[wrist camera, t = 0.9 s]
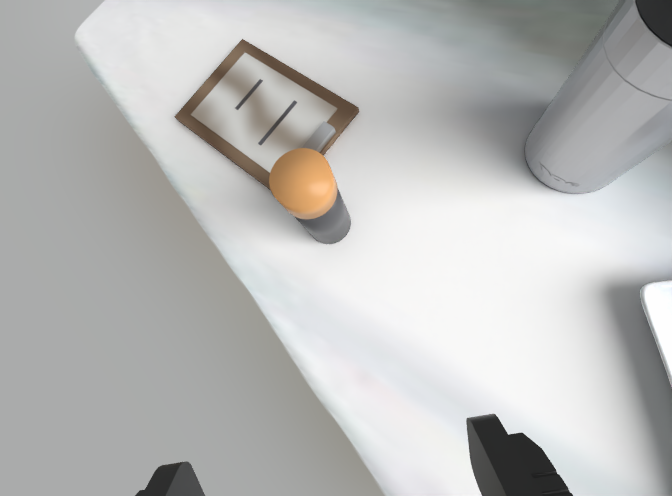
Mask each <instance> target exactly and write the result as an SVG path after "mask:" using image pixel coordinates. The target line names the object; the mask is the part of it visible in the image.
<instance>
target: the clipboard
mask: <svg viewBox="0 0 672 496" xmlns="http://www.w3.org/2000/svg"><path fill="white" fill-rule="evenodd" d="M358 112H359V109H358V107H356V106H355V105H353V104H351V103H350V102H348V101H346V100H345V99H343V98H341V97H339V96H338V95H336V94H334V93H333V92H331V91H329V90H328V89H326V88H324V87H323V86H321V85H319V84H317V83H316V82H314V81H312V80H311V79H309V78H307V77H306V76H304V75H302V74H301V73H299V72H297V71H296V70H294V69H292V68H290V67H289V66H287V65H285V64H284V63H282V62H280V61H279V60H277V59H275V58H274V57H272V56H270V55H268V54H267V53H265V52H263V51H262V50H260V49H258V48H257V47H255V46H253V45H252V44H250V43H248V42H246V41H245V40H243V39H242V40H241V41H240V42H239V44H238V45H237V46H236V47H235V48H234V49H233V50H232V52H231V53H230V54H229V55H228V56H227V57H226V58H225V60H224V61H223V62H222V63H221V64H220V65H219V66H218V68H217V69H216V70H215V71H214V72H213V73H212V74H211V76H210V77H209V78H208V79H207V80H206V81H205V82H204V84H203V85H202V86H201V87H200V88H199V89H198V91H197V92H196V93H195V94H194V95H193V96H192V97H191V99H190V100H189V101H188V102H187V103H186V104H185V105H184V107H183V108H182V109H181V110H180V111H179V112H178V113H177V115H176V116H175V118H176V119H177V120H178V121H179V122H181V123H182V124H183V125H185V126H186V127H187V128H189V129H190V130H191V131H193V132H194V133H195V134H197V135H198V136H199V137H201V138H202V139H203V140H205V141H206V142H207V143H209V144H210V145H211V146H213V147H214V148H215V149H217V150H218V151H219V152H221V153H222V154H223V155H225V156H226V157H227V158H229V159H230V160H231V161H233V162H234V163H235V164H237V165H238V166H239V167H241V168H242V169H243V170H245V171H246V172H247V173H249V174H250V175H251V176H253V177H254V178H255V179H257V180H258V181H259V182H261V183H262V184H263V185H265V186H266V187H267V188H269V189H270V185H269V176H270V172H271V169H272V167H273V165H274V164H275V162H276V161H277V160H278V159H279V158H280V157H281V156H282V155H284V154H285V153H287V152H289V151H291V150H294V149H298V148H309V149H313V150H315V151H317V152H319V153H320V154H322V155H324V154H325V153H326V151H327V150H328V149H329V148H330V146H331V145H332V144H333V143H334V142H335V140H336V139H337V138H338V137H339V136H340V134H341V133H342V132H343V131H344V129H345V128H346V127H347V126H348V125H349V123H350V122H351V121H352V120H353V118H354V117H355V116H356V115H357V114H358ZM270 190H271V189H270Z"/></svg>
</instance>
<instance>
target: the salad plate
mask: <svg viewBox="0 0 672 496" xmlns="http://www.w3.org/2000/svg"><path fill="white" fill-rule="evenodd" d="M640 300H641V303H642V306H643V310H644V312H645V315H646V318H647V320H648V323H649V326H650V328H651V331H652V334H653V336H654V339H655V342H656V344H657V347H658V350H659V352H660V355H661V358H662V361H663V364H664V366H665V369H666V372H667V375H668V378H669V381H670V384H671V387H672V280H666V281H658V282H652V283H648V284H645V285H644V286H643V287H642V288H641V290H640Z"/></svg>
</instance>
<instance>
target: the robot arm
mask: <svg viewBox="0 0 672 496" xmlns="http://www.w3.org/2000/svg"><path fill="white" fill-rule="evenodd" d="M671 141H672V0H620V1H619V2H618V4H617V5H616V7H615V8H614V10H613V12H612V13H611V15H610V16H609V18H608V19H607V21H606V22H605V24H604V25H603V26H602V28H601V29H600V31H599V32H598V34H597V35H596V37H595V38H594V40H593V41H592V43H591V44H590V46H589V47H588V49H587V50H586V52H585V53H584V55H583V56H582V58H581V59H580V60H579V62H578V63H577V65H576V66H575V68H574V69H573V71H572V72H571V74H570V75H569V77H568V78H567V80H566V81H565V83H564V84H563V86H562V87H561V89H560V90H559V92H558V93H557V94H556V96H555V97H554V99H553V100H552V102H551V103H550V105H549V106H548V108H547V109H546V110H545V112H544V113H543V115H542V116H541V118H540V119H539V121H538V122H537V124H536V125H535V127H534V128H533V130H532V131H531V133H530V134H529V137H528V139H527V141H526V146H525V157H526V161H527V164H528V166H529V168H530V169H531V171H532V173H533V174H534V175H535V176H536V177H537V178H538V179H539V180H540V181H541V182H543V183H544V184H546V185H547V186H549V187H551V188H553V189H556V190H558V191H562V192H566V193H577V194H580V193H589V192H592V191H596V190H599V189H601V188H603V187H605V186H606V185H608V184H610V183H611V182H613V181H614V180H616V179H617V178H618V177H620V176H621V175H623V174H624V173H626V172H627V171H629V170H630V169H632V168H633V167H635V166H636V165H638V164H639V163H641V162H642V161H644V160H645V159H646V158H648V157H649V156H651V155H652V154H654V153H655V152H657V151H658V150H660V149H661V148H662V147H664V146H665V145H667V144H668V143H670V142H671ZM466 422H467V432H468V442H469V452H470V460H471V465H472V469H473V472H474V476H475V479H476V482H477V484H478V487H479V489H480V492H481V494H482V496H573V495H572V493H570V492H569V490H568V487H567V486H566V484H565V483H564V481H563V480H562V478H561V477H560V475H559V474H557V472H556V469H555V468H554V466H553V465H552V463H551V462H550V460H549V459H548V457H547V456H546V454H545V453H544V451H543V450H542V448H540V447H539V446H538V445H537V444H535V443H534V442H533V441H532V440H531V439H529V438H528V437H527V436H526V435H525V434H523V433H516V434H510V435H508V434H507V432H506V430H505V429H504V427H503V425H502V424H501V422H500V420H499V419H498V417H497V416H496V415H495V414H489V415H483V416H477V417H470V418H467V421H466ZM135 496H205V495H204V492H203V490H202V488H201V486H200V484H199V481H198V479H197V477H196V475H195V473H194V470H193V468H192V466H191V464H190V463H189V462H180V463H174V464H168V465H162V466H160V467H158V469H157V470H156V471H155V472H154V474H153V476H152V478H151V480H150V481H149V483H148V485H147V487H146V489H145V490H140V491H139V492H138V493H137V494H136V495H135Z"/></svg>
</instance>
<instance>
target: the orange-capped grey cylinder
mask: <svg viewBox="0 0 672 496" xmlns="http://www.w3.org/2000/svg"><path fill="white" fill-rule="evenodd" d="M269 185H270V189H271V192H272V194H273V195H274V197H275V198H276V199H277V200H278V201H279V202H280V203H281V204H282V206H283V207H284V208H285V209H286V210H287V211H288V212H289V213H290V214H292V215H293V216H294V217H295V218H296V219H297V220H298V221H299V222H300V223H301V224H302V225H303V226H304V228H305V229H306V230H307V231H308V232H309V233H310V234H311V235H312V236H313V237H314V238H315V239H316V240H317V241H319V242H321V243H324V244H333V243H336V242H339V241H340V240H342V239H343V238H344V237H345V236H346V235H347V233H348V231H349V229H350V225H351V220H350V216H349V213H348V211H347V209H346V206H345V204H344V202H343V199H342V197H341V195H340V192H339V190H338V188H337V183H336V180H335V178H334V175H333V173H332V171H331V168H330V166H329V164H328V162H327V160H326V159H325V157H324V156H323V155H322V154H320V153H319V152H317V151H315V150H313V149H309V148H298V149H294V150H291V151H289V152H287V153H285V154H284V155H282V156H281V157H280V158H279V159H278V160H277V161H276V162H275V164H274V165H273V167H272V169H271V172H270V176H269Z"/></svg>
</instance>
